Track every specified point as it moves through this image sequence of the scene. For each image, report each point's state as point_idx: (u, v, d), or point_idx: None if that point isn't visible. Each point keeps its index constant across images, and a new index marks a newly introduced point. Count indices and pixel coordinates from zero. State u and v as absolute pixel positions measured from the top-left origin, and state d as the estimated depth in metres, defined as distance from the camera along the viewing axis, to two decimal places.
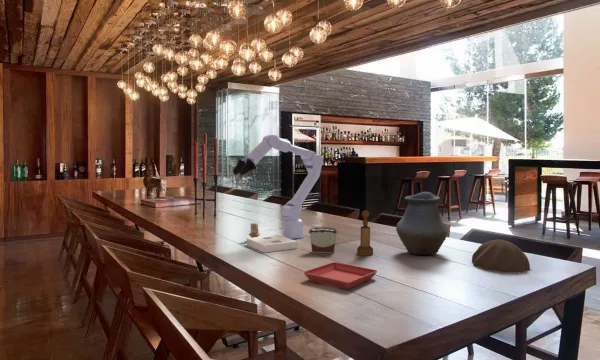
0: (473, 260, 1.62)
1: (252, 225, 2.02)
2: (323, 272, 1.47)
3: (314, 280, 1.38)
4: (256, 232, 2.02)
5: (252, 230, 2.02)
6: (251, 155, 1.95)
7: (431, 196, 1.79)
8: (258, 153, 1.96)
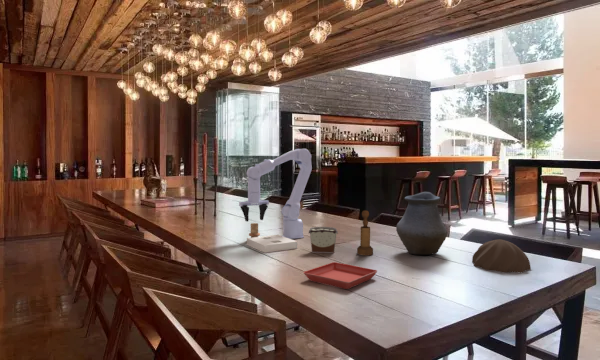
0: (473, 260, 1.62)
1: (252, 225, 2.02)
2: (323, 272, 1.47)
3: (314, 279, 1.38)
4: (256, 232, 2.02)
5: (252, 230, 2.02)
6: None
7: (431, 196, 1.79)
8: (248, 193, 2.02)
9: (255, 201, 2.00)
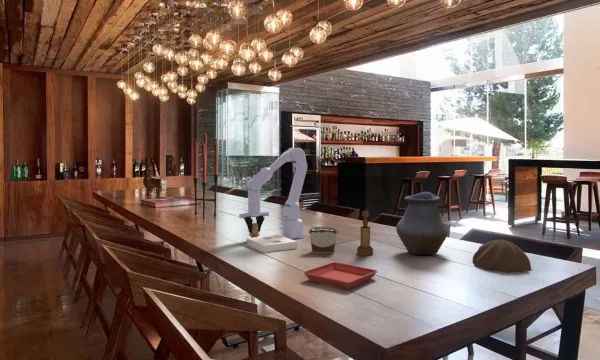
0: (474, 260, 1.61)
1: (252, 225, 2.02)
2: (323, 272, 1.47)
3: (314, 279, 1.38)
4: (256, 232, 2.02)
5: (252, 230, 2.02)
6: None
7: (431, 196, 1.79)
8: (248, 205, 2.02)
9: (255, 213, 2.00)
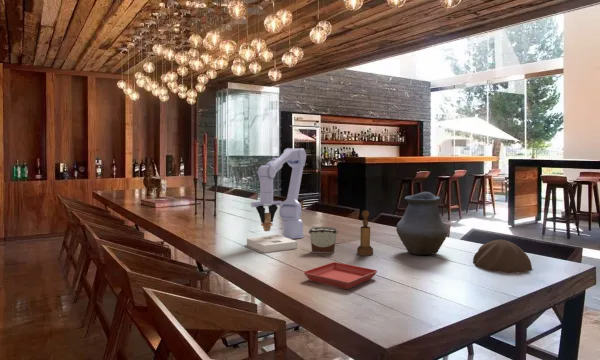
0: (474, 261, 1.61)
1: None
2: (323, 272, 1.47)
3: (314, 279, 1.38)
4: (269, 222, 1.92)
5: None
6: None
7: (431, 196, 1.79)
8: (260, 193, 1.91)
9: (268, 202, 1.90)
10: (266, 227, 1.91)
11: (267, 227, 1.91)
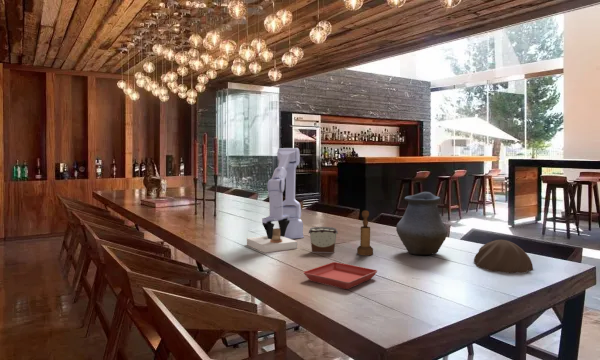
0: (475, 261, 1.61)
1: (275, 231, 1.85)
2: (323, 272, 1.47)
3: (314, 280, 1.38)
4: (279, 238, 1.86)
5: (275, 236, 1.85)
6: None
7: (431, 196, 1.79)
8: (270, 208, 1.84)
9: (279, 216, 1.84)
10: None
11: None
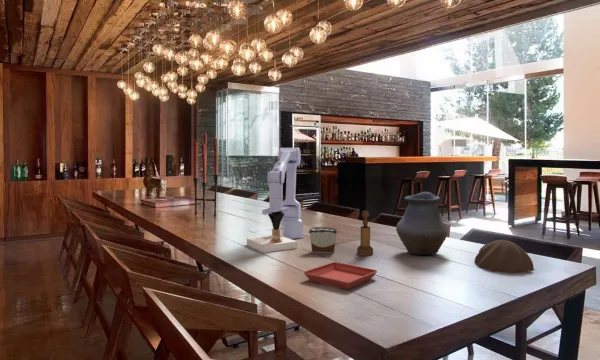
0: (476, 261, 1.60)
1: (275, 231, 1.85)
2: (323, 272, 1.47)
3: (314, 280, 1.38)
4: (279, 238, 1.86)
5: (275, 236, 1.85)
6: None
7: (431, 196, 1.79)
8: (270, 199, 1.84)
9: (279, 208, 1.83)
10: None
11: None
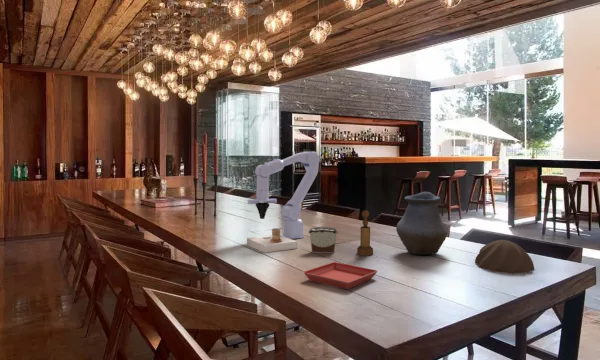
0: (477, 261, 1.60)
1: (275, 231, 1.85)
2: (323, 271, 1.47)
3: (314, 279, 1.38)
4: (279, 238, 1.86)
5: (275, 236, 1.85)
6: None
7: (431, 196, 1.79)
8: None
9: (264, 199, 2.00)
10: None
11: None
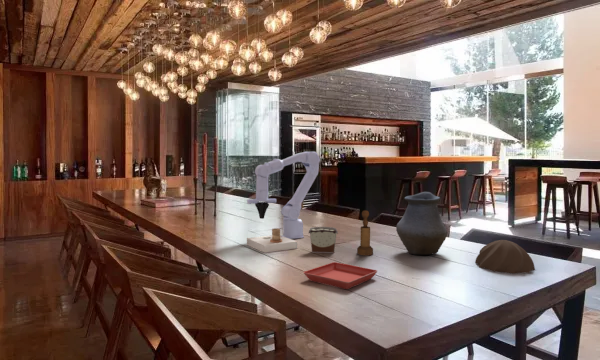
0: (477, 262, 1.60)
1: (275, 231, 1.85)
2: (323, 272, 1.47)
3: (314, 279, 1.38)
4: (279, 238, 1.86)
5: (275, 236, 1.85)
6: None
7: (431, 196, 1.79)
8: (256, 191, 2.03)
9: (263, 199, 2.01)
10: None
11: None
